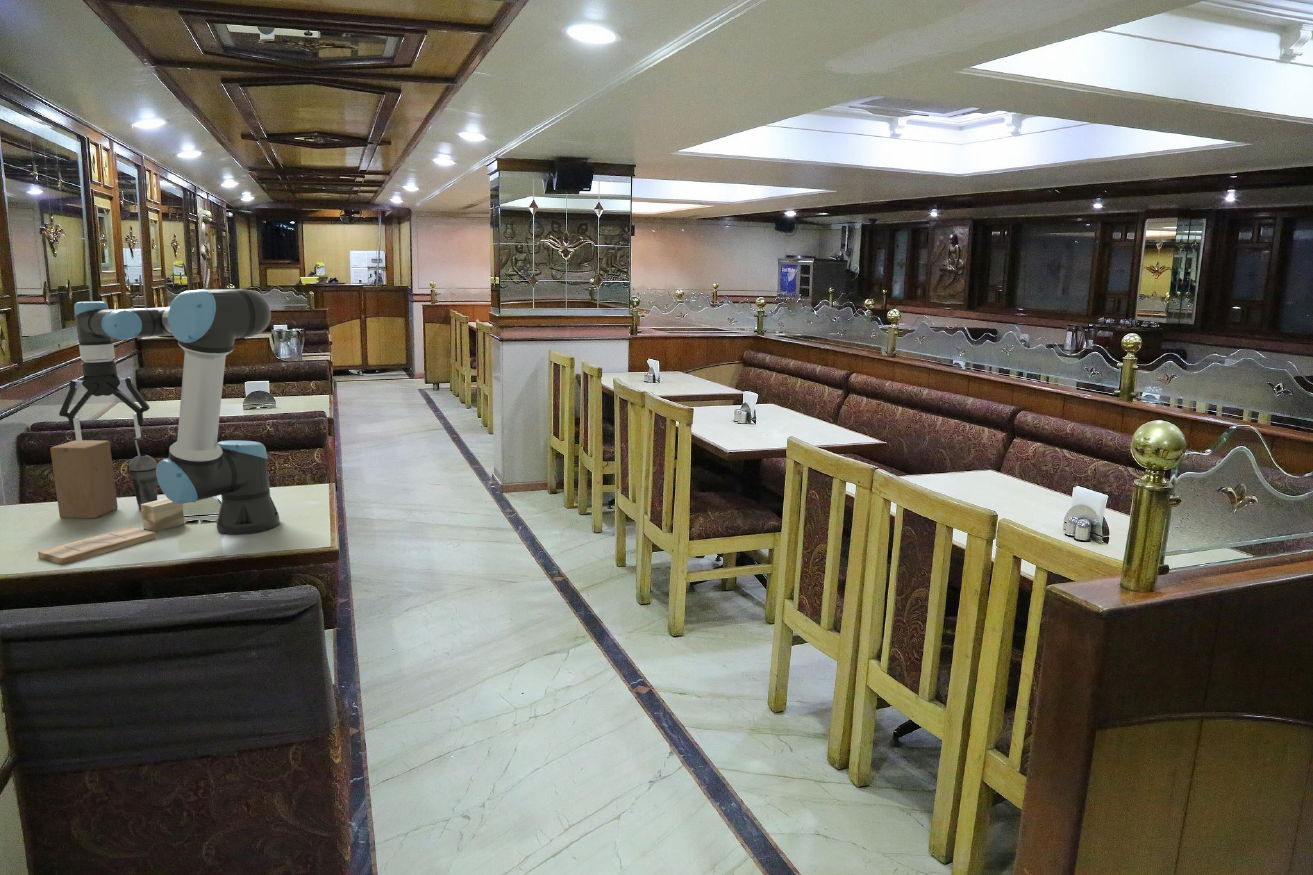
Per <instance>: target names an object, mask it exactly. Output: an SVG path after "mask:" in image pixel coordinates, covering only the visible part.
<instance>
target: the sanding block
mask: <svg viewBox="0 0 1313 875" xmlns="http://www.w3.org/2000/svg"><path fill="white" fill-rule="evenodd" d="M183 505H184V504H177V503H174V502H172V501H171V500H169V499H168V498H167V497H166V498H161V499H157V501H153V502H148V503H144V504H141V510H140V512H141V518H142V527H143V530H146V531H150V532H155V533H159V532H162V531H166V530H170V529H173V528H176V527H181V526H183V525H185V516H184V507H183Z"/></svg>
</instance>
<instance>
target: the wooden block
mask: <svg viewBox="0 0 1313 875" xmlns="http://www.w3.org/2000/svg"><path fill="white" fill-rule="evenodd" d="M49 450H50V455H51V463H52V469H53V477H54V486H55V491H56V492H55V493H56V499H57V507H58V513H59V518H60V519H97V518H99V517H101V516H103V515H104V516H105V515H106V514H108V513H110V512H114V511H116V510H118V506H119V505H118V501H117V500H118V499H117V491H116V485H115V484H116V482H115V476H114V468H113V458H112V453H111V452H112V451H111V443H110V441H109V440H93V439H92V440H91V439H90V440H86V439H84V440H83V439H82V441H81V442H80V443H77V442H76V439H75V440H72V441H68V442H65V443H61V444H58V445H55V446H54V445H53V446H52V447H50V449H49Z"/></svg>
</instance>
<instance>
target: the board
mask: <svg viewBox="0 0 1313 875" xmlns="http://www.w3.org/2000/svg"><path fill="white" fill-rule="evenodd" d="M153 539H156V532H151V531H147V530H144V529H140V528H136V527H132V526H129V527H125V528H122V529H117V530H114V531H110V532H105V533H102V534H99V535H96V536H90V537H87V538H84V539H80V540H76V541H73V542H68V543H65V544H62V545H58V546H55V547H50V548H46V549H41V550H39V551H37V556H38V558H39V559H41V560H47V561H48V562H49V561H50V562H53V563H57V564H60V565H66V564H70V563H73V562H77V561H81V560H84V559H87V558H91V557H94V556H97V555H101V554H104V553H108V552H112V551H115V550H118V549H122V548H126V547H129V546H132V545H136V544H140V543H143V542H147V541H149V540H153Z"/></svg>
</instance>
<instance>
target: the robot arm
mask: <svg viewBox="0 0 1313 875" xmlns="http://www.w3.org/2000/svg"><path fill="white" fill-rule="evenodd" d="M73 308H74V309H73V310H74V320H75V327H76V333H77V339H78V347H79V354H80V360H82V361H83V362H82V363H81V367H82V368H81V370H82V376H83V379H82V380H76V379H72V380H70V381H69V390H68V391H67V392H68V393H67V394H66V397H65V399H64V402H63V403H62V406H61V409H60V410H59V413H58V415H59V417H65V418H67V419H68V425H69V426H68V427H69V429H70V430H71V431H74V434H75V440H76V442H77V443H80V442H81V441H82V440H83V437H82V429H81V424H80V422H81V421H80V417H79V416H76V415H78V413H79V412H80V410H81V409H82V408H83V407H84V405H85V404H86V403H87V401H88V400H89V399H90V398H91V397H92V396H95V397H100V396H101V397H102V396H106V397H107V396H111V395H113V396H115V397H117V398H118V399H119V400H120V401H121V402H123V404H126V406H127V407H128V408H130V409H131V410H132V411H134V412H135V413H133V414H132V415H133V424H134V431H135V438H136V439H140V438H141V437H142V435H141V426H143V425H144V423H145V421H144V412H148V411H149V410H150V408H151V406H150V405H149V404H148V403H147V401H146V399H144V397H143V395H142V394H141V393H140V392H139V390H138V389H137V388H136V386H135V384H134V383H133V382H134V381H133V378H132V377H131V376H128V377H126V378H119V377H118V370H117V363H116V361H115V360H114V359H115V358H116V355H115V347H114V341H113V339H114V340H120V341H122V340H131V339H133V338H134V339H136V338H137V339H138V338H151V337H167V336H173V337H174V338H175V339H176V340H177V342H178V343H177V344H178V346H179V347H180V348H181V349H182V350H183V351H184V359H183V370H182V380H181V393H180V404H179V418H178V428H177V437H176V438H177V440H176V441H175V442H173V444H171V445H170V446H169V448H168V449H169V450H168V458H163V459H162V460H160V461H159V462H158V463H157V467H156V476H157V484H158V486H159V488H160V489H161V492H162V493H163V494H164V495H165V497H166V498H168V499H169V500H171V501H172V502H174V503H177V504H182V505H184V504H189V503H197V502H198V501H201V500H205V499H209V498H215V497H218V496H220V497H221V502H220V506H219V510H218V517H217V519H216V530H217V532H219V533H222V534H227V535H246V534H255V533H259V532H265V531H267V530H270V529H273V528H275V527H277V526H278V525H279V524H280V522H281V521H280V514H279V512H278V509H277V507H276V505H275V503H274V501H273V498H272V497H271V491H270V489H271V488H270V479H269V478H270V477H269V476H270V475H269V466H268V459H269V458H268V454H267V449H266V446H265V445H264V444H263V443H262V442H259V441H252V440H221V441H219V442H218V434H219V426H220V425H219V424H220V416H221V415H220V414H221V406H222V405H221V404H222V395H223V385H224V375H225V367H226V356H228V355H229V354H231V353H232V352H233V351H234V347H235V339H244V338H251V337H254V336H257V335H259V334H261V333H263V332H264V331H265V330H266V329H267V327H268V326H269V324H270V322H271V319H272V310H271V307H270V304H269V303H268V301H267V300H266V299H265V298H264V297H263V296H262V295H260V294H259V293H257V292H255V291H252V290H249V289H243V288H242V289H241V288H234V289H202V288H201V289H199V288H198V289H195V290H185V291H183V292H180V293H179V294H178V295H177V296H175V297H174V299H172V301H171V303H170V305H169V306H166V307H164V306H163V307H150V308H147V307H146V308H143V307H142V308H115V309H113V308H111V309H110V308H109V305H108V303H107V302H105V301H77V302H75V303H74V306H73ZM121 384H122V385H123V386H124V387H127V389H128V391H129V392H130V393H131V394H132V396H133V398H134V399H135V400H136V402H137V403H138V404H139V405H138V404H136V403H135V401H133V400H132V399H130V398H129V396H127V395H126V394H125V393H123V392H122V391H121V389H119V386H120V385H121ZM81 386H83V388H85V389H86V392H85V393H84V394H83V396H82V397H81V398H80V400H79V401H78V402H77V403H76V404H75V405H74V406H73V408H72V409H71V410H70V411H69V409H70V407H71V404H72V402H73V400H74V397H75V396H76V393H77V390H78V389H80V387H81Z"/></svg>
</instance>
